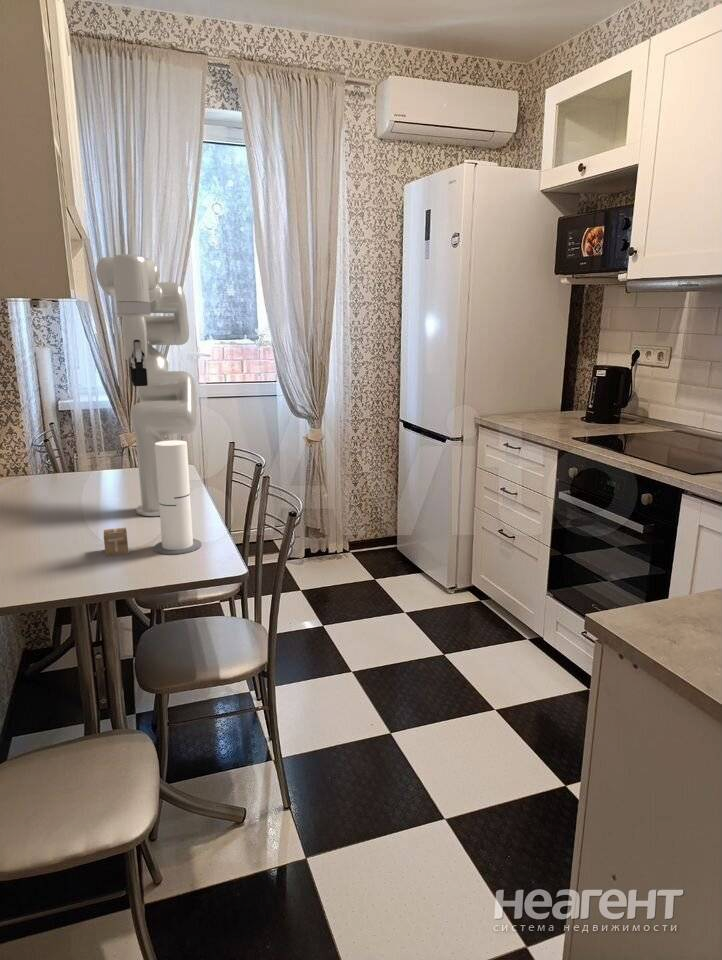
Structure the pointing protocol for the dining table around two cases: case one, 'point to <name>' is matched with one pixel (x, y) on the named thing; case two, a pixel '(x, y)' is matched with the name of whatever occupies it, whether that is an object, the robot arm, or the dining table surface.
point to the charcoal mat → (161, 550)
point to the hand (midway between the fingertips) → (139, 384)
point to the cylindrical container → (174, 494)
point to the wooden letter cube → (115, 541)
